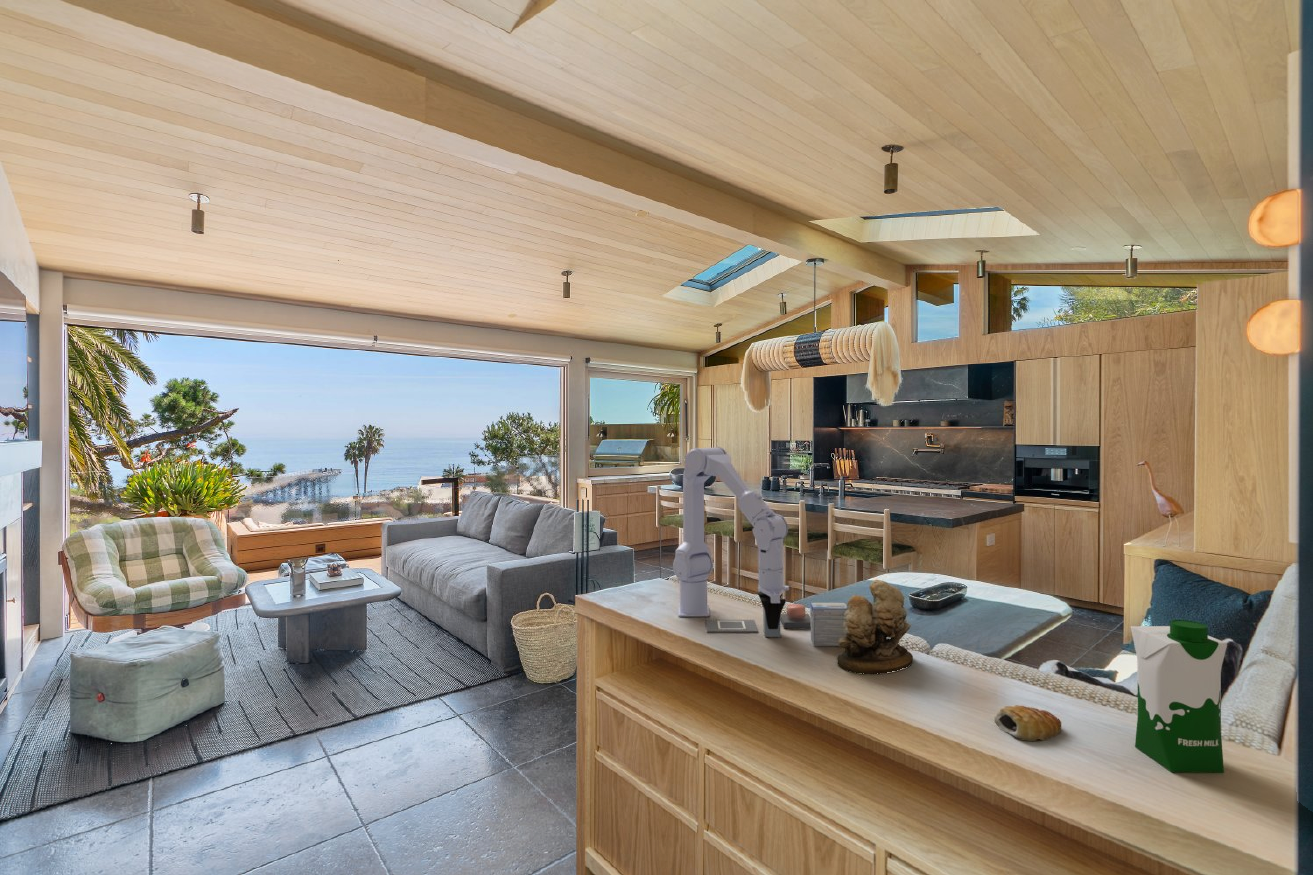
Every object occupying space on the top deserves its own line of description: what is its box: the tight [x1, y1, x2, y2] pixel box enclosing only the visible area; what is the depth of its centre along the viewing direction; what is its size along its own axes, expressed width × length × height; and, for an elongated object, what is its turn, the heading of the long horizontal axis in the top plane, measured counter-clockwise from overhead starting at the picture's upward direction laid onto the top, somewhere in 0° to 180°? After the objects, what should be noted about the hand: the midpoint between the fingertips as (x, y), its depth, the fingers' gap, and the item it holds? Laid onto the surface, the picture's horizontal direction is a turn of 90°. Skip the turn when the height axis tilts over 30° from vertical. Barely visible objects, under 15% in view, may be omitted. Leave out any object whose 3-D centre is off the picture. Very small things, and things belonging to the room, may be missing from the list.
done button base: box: [780, 613, 811, 630], centre depth 155 cm, size 7×7×2 cm
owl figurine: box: [836, 579, 914, 675], centre depth 129 cm, size 18×12×17 cm, turn 120°
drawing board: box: [705, 619, 759, 634], centre depth 154 cm, size 9×12×1 cm
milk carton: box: [1130, 619, 1228, 774], centre depth 90 cm, size 9×9×20 cm
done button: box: [786, 603, 806, 618], centre depth 155 cm, size 4×4×2 cm
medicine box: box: [809, 602, 847, 647], centre depth 141 cm, size 8×4×9 cm, turn 84°
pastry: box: [993, 704, 1062, 742], centre depth 99 cm, size 9×7×4 cm
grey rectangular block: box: [762, 606, 782, 638], centre depth 147 cm, size 4×4×8 cm
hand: (771, 625), depth 147 cm, fingers closed on grey rectangular block, 3 cm apart
